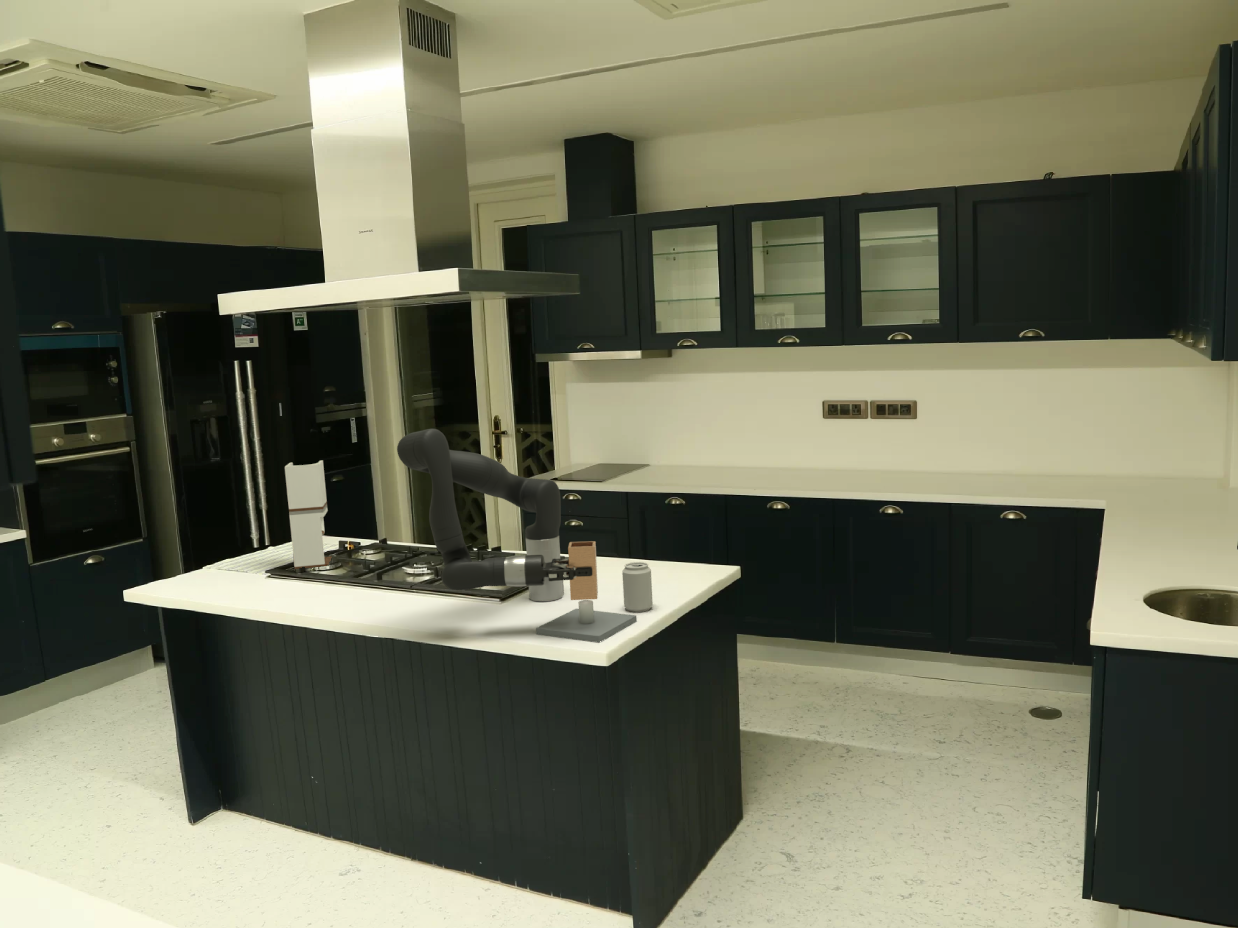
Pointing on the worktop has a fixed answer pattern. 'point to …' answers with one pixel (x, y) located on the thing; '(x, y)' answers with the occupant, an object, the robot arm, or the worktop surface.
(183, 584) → the worktop surface
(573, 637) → the duct base
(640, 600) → the can
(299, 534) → the brown-banded white column
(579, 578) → the tan box
